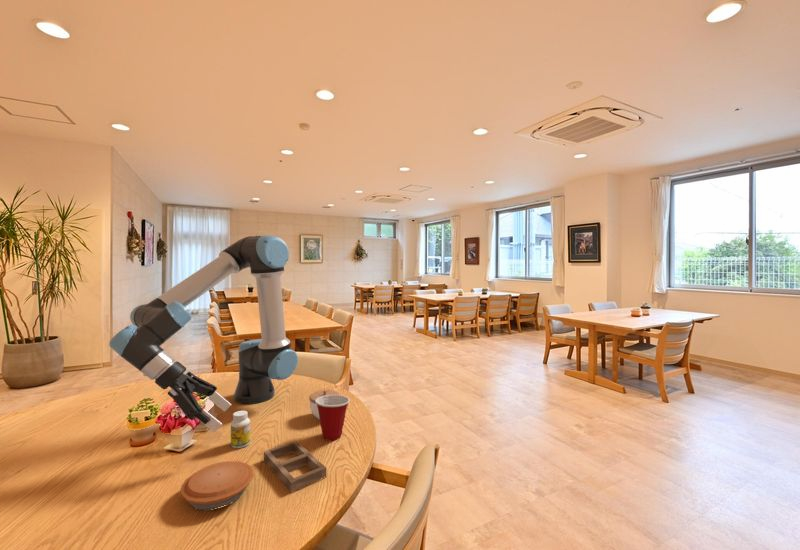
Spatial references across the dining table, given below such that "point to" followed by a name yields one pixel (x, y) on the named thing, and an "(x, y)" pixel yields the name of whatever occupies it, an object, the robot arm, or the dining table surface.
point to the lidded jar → (315, 395)
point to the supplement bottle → (240, 430)
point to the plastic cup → (332, 415)
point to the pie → (217, 484)
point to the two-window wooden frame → (294, 465)
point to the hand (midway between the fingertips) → (223, 417)
